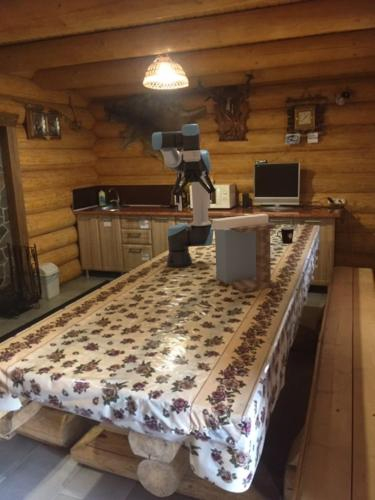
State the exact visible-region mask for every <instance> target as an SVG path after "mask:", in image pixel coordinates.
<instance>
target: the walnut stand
mask: <svg viewBox="0 0 375 500" xmlns="http://www.w3.org/2000/svg"><path fill="white" fill-rule="evenodd" d="M229 229H231V230H234V231H237V232H240V233H244V232H252V231H256V277H254V278H248V279H242V280H236V281H231V283H230V285H231V287H233V288H234V289H235V290H238V291H240V292H241V293H247V292H253V291H259V290H265V289H269V288H276V287H277V282H276V281H274V280H273V279H271V278H272V277H271V276H272V274H271V272H272V271H271V269H272V268H271V267H272V266H271V262H272V261H271V230H273V229H277V224H276V223H274V222H270V221H268V224H260V225H252V226H244V227H236V228H229Z"/></svg>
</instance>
